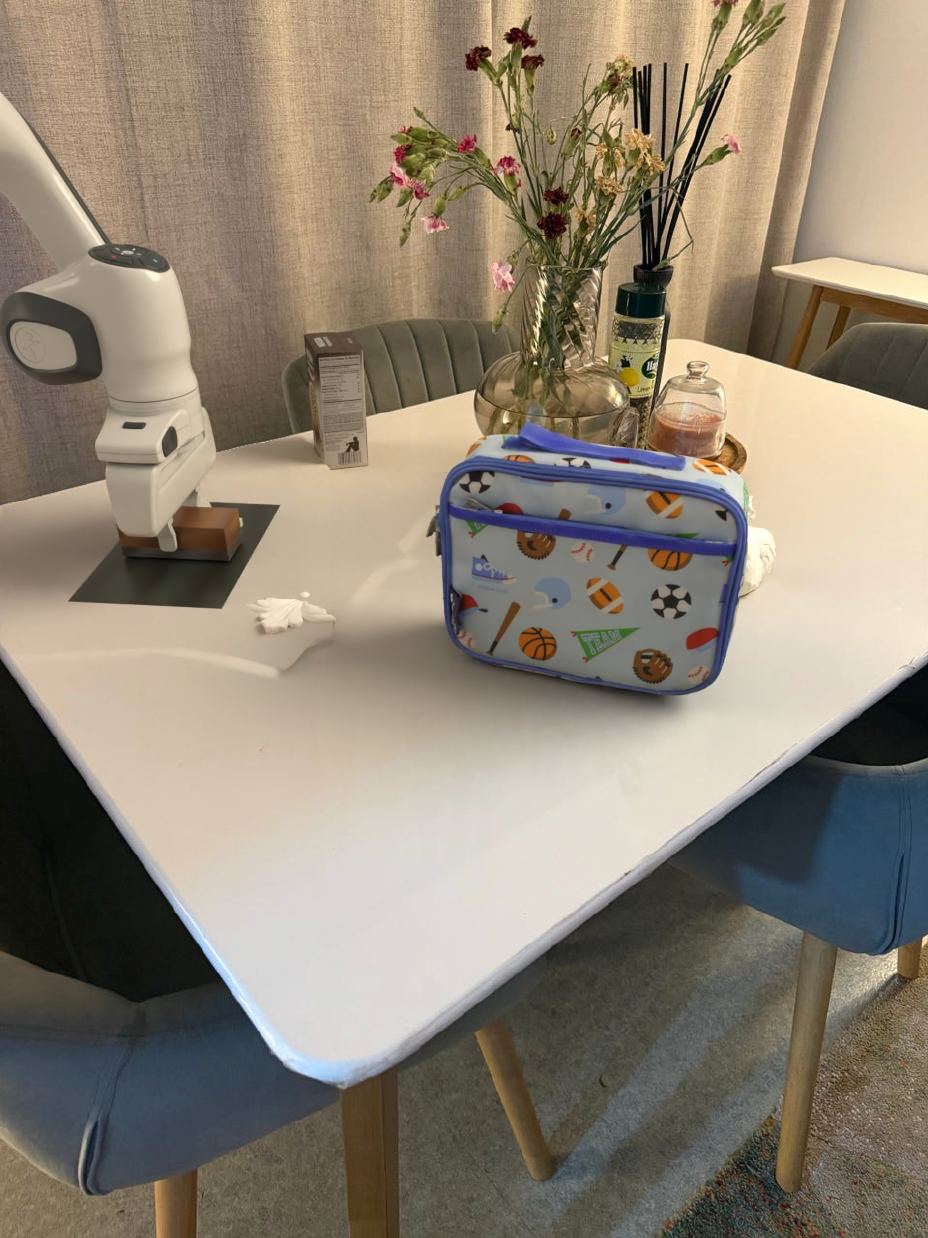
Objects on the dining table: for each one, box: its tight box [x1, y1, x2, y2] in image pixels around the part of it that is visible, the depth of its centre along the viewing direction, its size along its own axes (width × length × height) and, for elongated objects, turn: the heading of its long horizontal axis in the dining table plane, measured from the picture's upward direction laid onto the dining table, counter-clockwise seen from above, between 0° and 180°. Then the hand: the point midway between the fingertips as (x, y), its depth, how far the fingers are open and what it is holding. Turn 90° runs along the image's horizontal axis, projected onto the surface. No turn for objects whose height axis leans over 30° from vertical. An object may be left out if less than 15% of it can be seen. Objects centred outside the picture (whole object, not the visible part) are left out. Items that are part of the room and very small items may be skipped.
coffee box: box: [303, 331, 369, 470], centre depth 120 cm, size 9×6×16 cm
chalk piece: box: [198, 495, 211, 507], centre depth 107 cm, size 4×4×1 cm
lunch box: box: [425, 421, 750, 696], centre depth 78 cm, size 28×10×22 cm, turn 73°
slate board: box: [67, 501, 281, 610], centre depth 100 cm, size 18×26×1 cm
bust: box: [741, 495, 777, 596], centre depth 94 cm, size 12×8×11 cm
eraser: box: [115, 506, 243, 561], centre depth 99 cm, size 12×5×4 cm, turn 85°
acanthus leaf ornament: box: [246, 591, 337, 635], centre depth 89 cm, size 8×7×2 cm
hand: (181, 535), depth 99 cm, fingers closed on eraser, 5 cm apart
